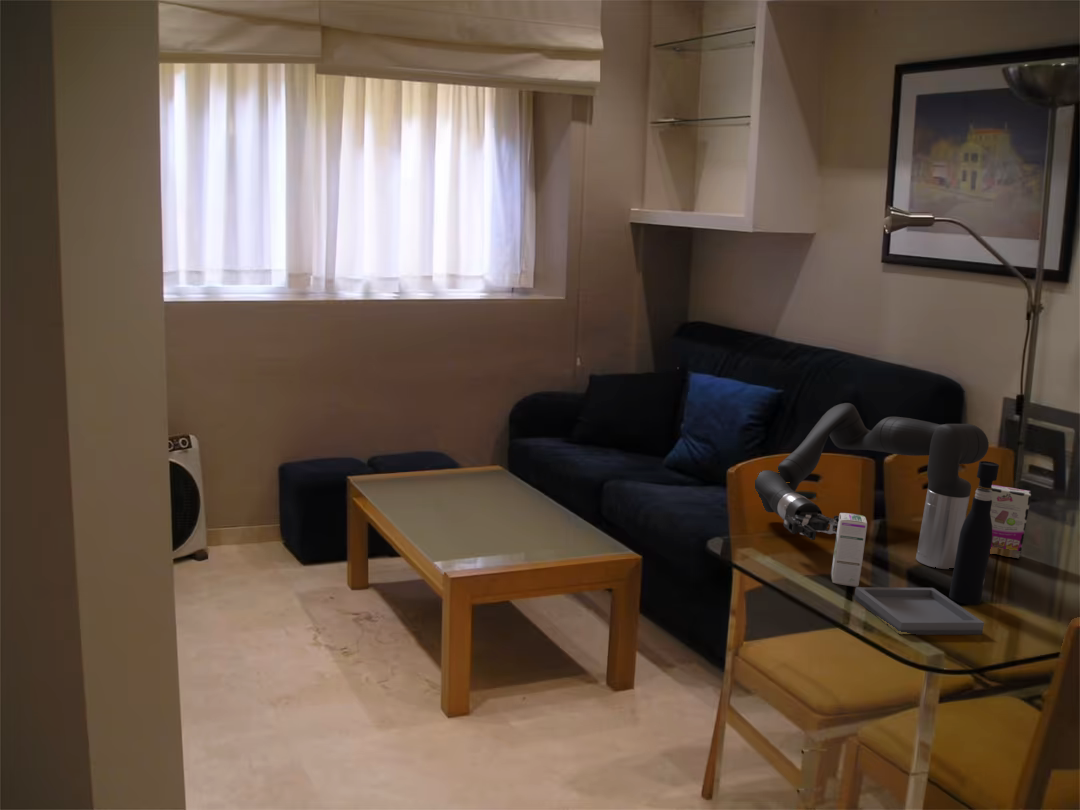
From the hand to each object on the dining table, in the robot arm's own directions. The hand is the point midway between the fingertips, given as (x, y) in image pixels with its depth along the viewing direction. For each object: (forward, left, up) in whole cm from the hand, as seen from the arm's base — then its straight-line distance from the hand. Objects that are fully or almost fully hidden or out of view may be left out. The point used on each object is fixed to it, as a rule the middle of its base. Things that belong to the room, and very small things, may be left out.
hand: (831, 535), depth 244 cm
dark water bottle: (-23, +18, -8) cm, 30 cm away
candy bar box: (-51, -11, -8) cm, 53 cm away
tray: (-6, +27, -7) cm, 29 cm away
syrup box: (0, +8, -8) cm, 11 cm away
